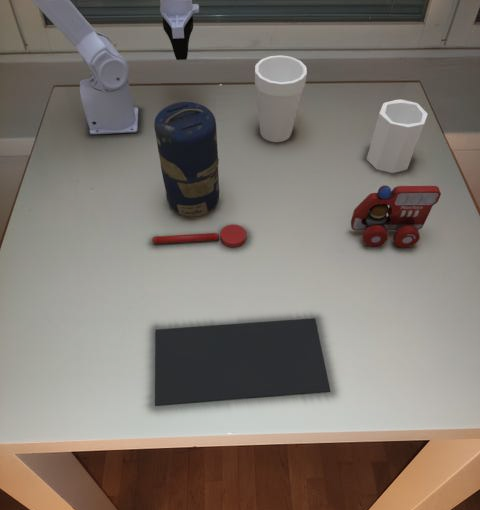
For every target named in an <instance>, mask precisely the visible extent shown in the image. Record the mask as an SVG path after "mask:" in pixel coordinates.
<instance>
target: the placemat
mask: <svg viewBox="0 0 480 510" xmlns="http://www.w3.org/2000/svg"><path fill="white" fill-rule="evenodd" d="M154 337H155V338H154V339H155V342H154V345H155V347H154V406H155V407H157V406H168V405H169V406H170V405H181V404H192V403H193V404H194V403H207V402H218V401H219V402H220V401H232V400H245V399H255V398H256V399H257V398H270V397H282V396H293V395H305V394H306V395H307V394H320V393H330V392H331V387H330V382H329V377H328V372H327V367H326V363H325V358H324V353H323V348H322V343H321V340H320V334H319V331H318V324H317V321H316V317H313V318H299V319H297V318H296V319H283V320H270V321H255V322H242V323H230V324H228V323H227V324H214V325H200V326H199V325H198V326H187V327H173V328H172V327H171V328H158V329H155V334H154Z"/></svg>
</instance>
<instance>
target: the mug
mask: <svg viewBox="0 0 480 510" xmlns="http://www.w3.org/2000/svg"><path fill="white" fill-rule="evenodd" d="M428 115H429V113H427V111H426V110H425V109H424V108H423V107H422V106H421V105H420V104H419V103H418V102H415V101H410V100H407V99H403V98H402V99H401V98H399V99H393V100H391V101H386V102H383V104H382V105H381V108H380V110H379V113H378V117H377V120H376V124H375V127H374V131H373V135H372V139H371V142H370V145H369V149H368V153H367V156H366V160H367V161H368V163H370V164H371V165H372V166H373V167H374V169H376V170H378V171H382V172H386V173H391V174H396V173H399V172H403V171H407V170H408V168H409V166H410V164H411V160H412V158H413V155H414V153H415V150H416V147H417V146H418V145H417V144H418V142H419V139H420V136H421V135H422V131H423V128H424V126H425V123H426V120H427V117H428Z"/></svg>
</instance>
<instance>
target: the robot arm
mask: <svg viewBox="0 0 480 510" xmlns="http://www.w3.org/2000/svg"><path fill="white" fill-rule="evenodd" d="M31 1H32V2H33V3H34V5H36V7H37V8H38V10H40V11H41V12H42V13H43V15H45V17H46V18H47V19H48V20H49V21H50V22H51V23H52V24H53V25H54V27H56V28H57V30H58V31H59V32H60V33H61V34H62V35H63V37H65V38H66V39H67V41H69V43H70V44H71V45H72V47H74V48H75V50H76V51H77V52H78V54H79V55H80V56H81V58H82V60H83V62H84V63H85V64H86V65H87V67H88V68H89V69H90V71H89V77H88V78H86V79H80V82H79V95H80V101H81V105H82V108H83V111H84V115H85V118H86V122H87V125H88V128H89V134H90V135H110V134H128V133H137V132H138V129H139V128H138V127H139V126H138V125H139V108H138V107H134V102H133V96H132V92H131V87H130V81H129V77H130V67H129V63H128V62H127V60H126V59H125V57H123V56H122V55H121V54H120V53H119V51H118V50H117V48H115V47H116V46H114V45H113V43H112V40H111V39H110V38H109V37H108V36H107V35H106V34H104V33H102V32H99V31H98V30H96V28H94V27H93V26H92V24H90V22H89V21H88V20H87V19H86V18H85V17H84V16H83V14H82V13H81V12H80V11H79V10H78V8H77V7H76V6H75V5H74V3H73V2H72V1H71V0H31ZM159 2H160V6H159V12H160V15H161V16H162V28H163V30H164V32H165V34H166V35H167V38H168V39H169V41H170V45H171V48H172V50H173V54H174V57H175V60H176V61H186V60H187V59H188V55H189V44H190V43H189V42H190V38H191V34H192V32H193V30H194V14H198V13H200V5H199V4H198V3H193V0H159Z"/></svg>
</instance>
